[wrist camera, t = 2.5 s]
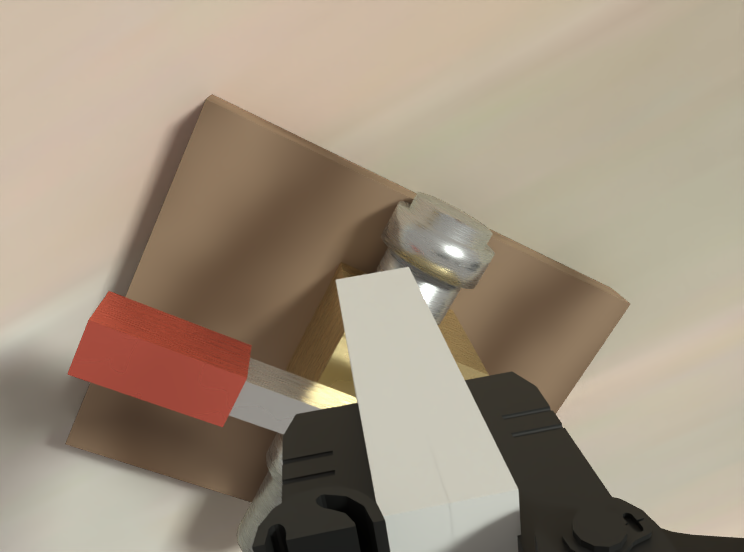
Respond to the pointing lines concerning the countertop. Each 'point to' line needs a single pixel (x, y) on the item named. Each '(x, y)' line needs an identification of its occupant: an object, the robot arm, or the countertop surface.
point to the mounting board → (309, 289)
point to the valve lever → (191, 368)
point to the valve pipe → (439, 288)
